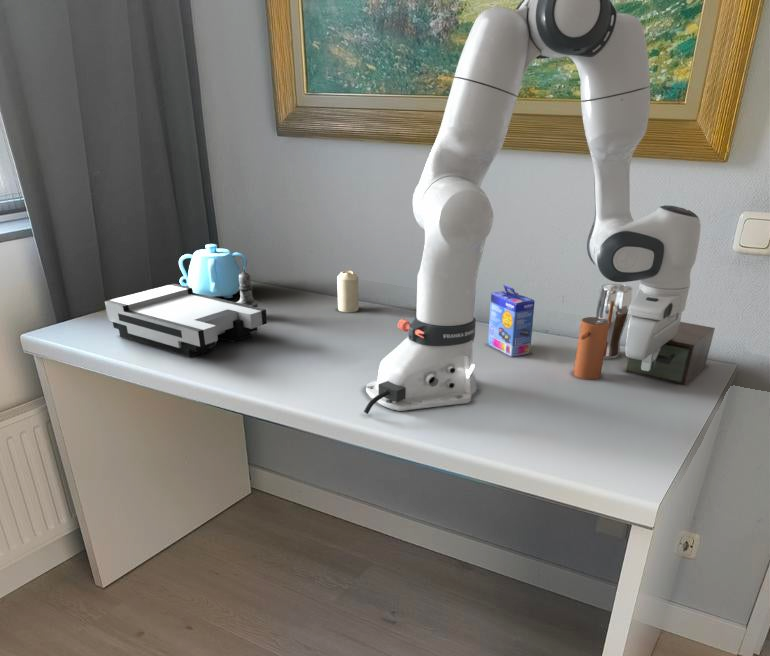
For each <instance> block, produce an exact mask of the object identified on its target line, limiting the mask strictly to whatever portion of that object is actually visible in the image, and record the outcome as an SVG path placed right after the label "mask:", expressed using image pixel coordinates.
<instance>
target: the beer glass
mask: <svg viewBox="0 0 770 656" xmlns="http://www.w3.org/2000/svg"><path fill="white" fill-rule="evenodd" d="M633 289H634V288H633V287H632V286H630V285H627V284H624V283H621V284H620V283H605V284H602V285H601V288H600V291H599V296H598V300H597V305H596V312H595V313H596V316H595V317H598V318H603V319H606V320H608V321H609V322H610V324H609V329H608V335H607V341H606V347H605V353H604V359H603V360H605V359H606V360H614V359H617V358H620V356H621V355H620V354H621V340H622V335H623V333H624V330H625V327H626V324H627V321H628V318H629V316H630V315H629V314H628V310H629V306H630V304H631V302H632V297H633Z"/></svg>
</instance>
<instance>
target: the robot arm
mask: <svg viewBox="0 0 770 656" xmlns="http://www.w3.org/2000/svg"><path fill="white" fill-rule="evenodd" d="M561 58H569V59H570V60H571V61H572V62H573V63H574V65H575V67H576V71H577V72H578V78H579V80H580V106H581V107H580V108H581V118H582V123H583V129H584V135H585V138H586V143H587V147H588V151H589V154H590V158H591V161H592V167H593V184H594V217H593V218H594V219H593V222H592V225H591V228H590V230H589V234H588V236H587V241H586V251H587V255H588V258H589V260H590V262H591V263H592V264H593V265H594V266H596V268H597V270H598V271H599V273H600V274H601V275H602V276H603V277H604V278H606V279H607V280H609V281H611V282H615V283H628V282H636V281H639V287H638V290H637V292H636V295H635V296H634V298H633V300H631V304H630V306H629V310H628V314H629V315H628V316H630V318H629V321H628V324H627V332H626V337H625V338H626V339H625V349H624V352H625V356H626V357H627V358H628V359H629V358H633V359H638V360H642V365H641V369H642V370H644V371H649V370H650V369H652V368H653V367H654V366H655V362H656V359H657V356H658V354H659V352H660V349H661V346H663V345H664V344H665V343H667V342H668V341H669V340H671V339H672V338H673V337H675V336H676V335H677V332H678V330H679V325H680V322H681V319H682V313H683V312H684V311H685V309H686V304H687V300H688V295H689V290H690V286H691V271H692V269H693V267H694V265H695V263H696V261H697V254H698V249H699V245H700V237H701V228H702V227H701V226H702V225H701V220H700V217H699V216H698V215H697V214H696V213H695V212H693V211H692V210H690V209H686V208H684V207H680V206H676V205H669V204H668V205H667V204H666V205H660V206H658V208H656V209H655V210H654V211H652V212H650V213H649V214H646V215H645V216H643V217H640V218H638V219H636V220H634V219H633V216H632V213H631V208H630V207H631V205H630V204H631V203H630V202H631V198H630V191H631V189H630V187H631V186H630V182H631V181H630V171H631V170H630V168H631V167H630V166H631V162H632V159H633V156H634V152H635V151H636V149H637V147H638V145H639V144H640V143H641V141H642V140H643V138H644V136H645V135H646V133H647V130H648V124H649V117H650V111H651V110H650V109H651V71H650V60H649V52H648V47H647V41H646V36H645V30H644V27H643V24H642V22H641V20H640V19H639V18H638V17H637V16H635V15H633V14H631V13H626V12H625V13H624V12H617V10H616V8H615V6H614V5H613V3H612V2H611V0H522V1H521V2H520V3H519V4H518V5H517V6H516V7H515V8H514V9H513V8H511V7H506V6H493V7H488V8H486V9H485V10H482V11H481V12H480V13H479V14H478V16H476V18H475V21H474V23H473V25H472V27H471V29H470V31H469V34H468V36H467V38H466V40H465V43H464V45H463V49H462V51H461V53H460V56H459V59H458V62H457V66H456V69H455V73H454V76H453V80H452V83H451V87H450V91H449V94H448V97H447V98H448V99H447V101H446V105H445V109H444V112H443V116H442V120H441V123H440V126H439V129H438V132H437V135H436V138H435V140H434V143H433V145H432V148H431V150H430V152H429V155H428V157H427V160H426V162H425V165H424V167H423V170H422V173H421V176H420V179H419V182H418V183H417V185H416V187H415V189H414V191H413V193H412V194H413V195H412V204H411V205H412V211H413V216H414V218H415V220H416V223H417V224H418V225H419V227H420V228H421V229H422V230H423V231H424V245H423V251H422V257H421V263H420V267H419V270H418V272H417V278H416V279H417V281H416V312H415V313H416V315H415V316H414V317H413V320H412V322H410V321H408V320H406V319H404V318H402V319H400V320H399V321H398V322H397V328H398V329H399V330H401V331H403V332H407V337H406V338H404V340H402V341H401V342H400V343H399V344H398V345H397V346H396V347H395V348H393V350H392V351H390V352H389V353H388V354H387V355H385V356H384V357H383V358H382V360H380V362H379V366H378V371H377V378H376V380H372V381H369V382H367V383H366V387H365V391H366V393H367V395H368V396H369V397H370V398H371V400H370V401H369V402H368V403H367V405H366V407H365V408H364V410H363V412H364V413H365V414H367V415H369V413H370V411H371V409H372V407H373V406H374V405H375V404H376V403H377V404H379V405H381V406H382V407H385V408H386V409H390V410H394V411H398V412H401V411H402V412H403V411H410V410H419V409H429V408H437V407H445V406H453V405H461V404H469V403H471V401H472V396H473V395H474V394H475V393H476V392H477V390H478V385H477V382H476V381H477V380H476V375H475V371H474V370H475V364H474V349H473V348H474V344H473V343H474V341H475V338H476V317H475V307H476V293H477V292H476V291H477V280H478V275H479V269H480V265H481V261H482V257H483V253H484V249H485V246H486V241H487V238H488V236H489V235H490V233H491V230H492V228H493V223H494V211H493V207H492V205H491V204H492V203H491V202H490V200H489V198H488V195H487V194H486V192H485V191H484V190H483V188H481V186H482V184H483V181H484V179H485V177H486V175H487V173H488V171H489V169H490V167H491V166H492V164H493V162H494V160H495V159H496V157H497V156H498V154H499V153H500V152H501V150H502V148H503V145H504V143H505V139H506V136H507V133H508V131H509V130H508V129H509V127H510V123H511V120H512V117H513V114H514V111H515V108H516V104H517V100H518V98H519V94H520V90H521V87H522V84H523V80H524V76H525V75H526V73H527V70H528V68H529V67H530V65H531V64H532V62H533V61H534V60H535V59H561Z"/></svg>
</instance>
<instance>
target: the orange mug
mask: <svg viewBox="0 0 770 656" xmlns="http://www.w3.org/2000/svg"><path fill="white" fill-rule="evenodd" d="M609 324H610V322H609V321H608V320H606V319H603V318H598V317H596V316H587V317H583V318H582V319H581V320H580V326H579V333H578V340H577V347H576V354H575V358H574V359H575V360H574V365H573V376H574V377H576V378H578V379H582V380H590V381H591V380H597V379H600V378H601V375H602V369H603V364H604V360H605V359H604V353H605V347H606V341H607V335H608V329H609Z"/></svg>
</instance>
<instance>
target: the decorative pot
mask: <svg viewBox="0 0 770 656" xmlns="http://www.w3.org/2000/svg"><path fill="white" fill-rule="evenodd" d="M235 257H236V258H237V257H239V258H241V259H242V268H241V269H240V267H239V264H238V262H237V261H236V258H235ZM186 259H190V263H189V266H188V271H186V269H185V266H184V263H183V262H184V260H186ZM178 266H179V270H180V271H181V273H182V275H183V276H181V277H180V278H179V283H180V284H179V285H183V286H187V287H192V289H193V293H197V294H201V295H206V296H210V297H214V298H216V297H223V298H224V299H231V298H234V296H233V295H235V294H237V293H238V292H240V289H238V288H239V287H240V284H239V275H240V274H241V273H243V269H244V270H245V272H247V267H248V259H247V257H246V256H245V254H243V253H241V252H237V251H236V252H233V253H231V251H230V250H229V249H227V248H218V244H216V243H208V244H205V248H204V249H203V248H202V249H197V250H195V251H194V252H193V254H190V253H186V254H184V255H182V256H181V257H180V258H179V260H178ZM184 280H185V281H184Z"/></svg>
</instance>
